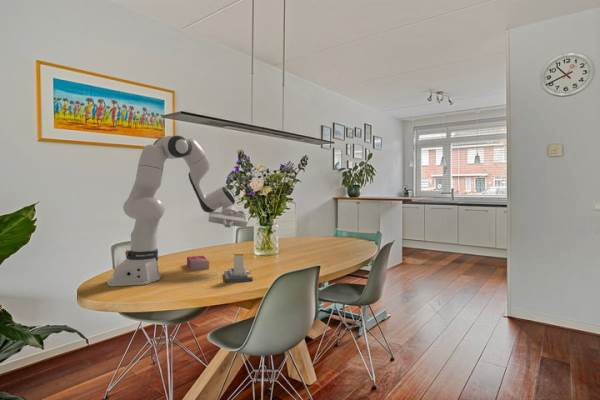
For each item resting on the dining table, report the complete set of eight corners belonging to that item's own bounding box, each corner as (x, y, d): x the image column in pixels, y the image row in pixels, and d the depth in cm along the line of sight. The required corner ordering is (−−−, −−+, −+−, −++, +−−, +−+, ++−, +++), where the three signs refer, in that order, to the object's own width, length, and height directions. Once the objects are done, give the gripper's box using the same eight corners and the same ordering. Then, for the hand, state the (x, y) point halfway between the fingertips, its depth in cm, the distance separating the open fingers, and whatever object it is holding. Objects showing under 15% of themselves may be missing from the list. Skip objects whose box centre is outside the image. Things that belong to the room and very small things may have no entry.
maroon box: (202, 253, 205) (209, 260, 187) (202, 262, 205) (209, 269, 187) (185, 255, 201) (191, 262, 183) (185, 263, 201) (191, 271, 183)
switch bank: (226, 282, 161) (226, 276, 161) (224, 273, 177) (224, 268, 177) (252, 280, 164) (252, 275, 164) (248, 272, 180) (248, 267, 180)
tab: (234, 277, 164) (234, 253, 164) (233, 275, 168) (233, 252, 168) (243, 276, 165) (243, 253, 165) (242, 274, 169) (242, 251, 169)
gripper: (210, 206, 190) (207, 217, 177) (248, 212, 194) (248, 223, 181) (209, 217, 192) (206, 228, 179) (246, 223, 196) (245, 234, 184)
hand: (227, 226), depth 180 cm, fingers closed
